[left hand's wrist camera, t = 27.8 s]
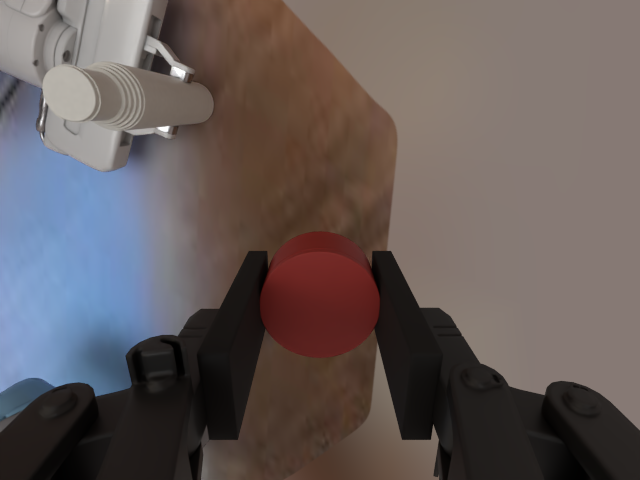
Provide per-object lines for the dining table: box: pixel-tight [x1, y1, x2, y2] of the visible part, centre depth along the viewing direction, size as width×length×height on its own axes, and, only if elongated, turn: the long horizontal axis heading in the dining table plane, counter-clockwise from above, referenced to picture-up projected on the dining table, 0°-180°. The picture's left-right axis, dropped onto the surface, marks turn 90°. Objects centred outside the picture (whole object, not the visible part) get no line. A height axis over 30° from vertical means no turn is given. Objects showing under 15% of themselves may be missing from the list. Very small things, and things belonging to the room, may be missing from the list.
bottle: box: [42, 61, 214, 131], centre depth 32 cm, size 5×5×23 cm
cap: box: [260, 232, 380, 358], centre depth 14 cm, size 4×4×2 cm
